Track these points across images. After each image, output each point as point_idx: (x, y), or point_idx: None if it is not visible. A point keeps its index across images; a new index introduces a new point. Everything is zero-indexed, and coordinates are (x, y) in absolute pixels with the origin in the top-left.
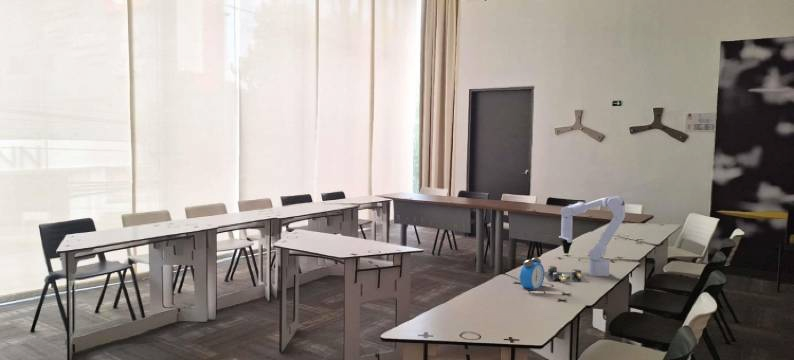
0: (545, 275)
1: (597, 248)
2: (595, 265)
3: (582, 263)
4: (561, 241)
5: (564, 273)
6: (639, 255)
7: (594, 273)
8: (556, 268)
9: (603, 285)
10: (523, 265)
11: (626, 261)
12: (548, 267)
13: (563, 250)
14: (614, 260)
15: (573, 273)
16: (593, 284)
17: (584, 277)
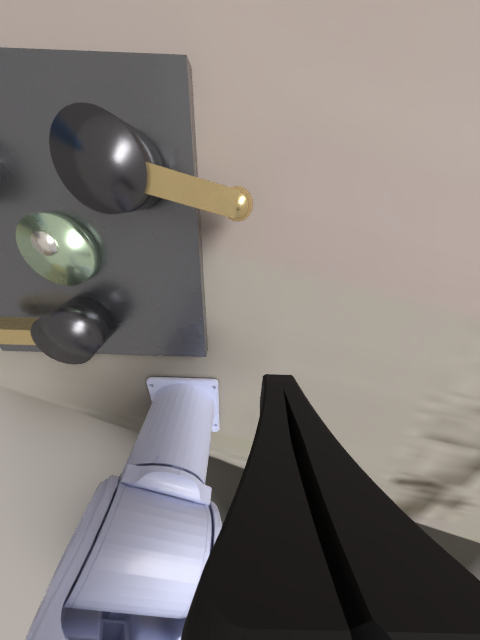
0: (38, 68)
1: (34, 619)
2: (133, 447)
3: (424, 409)
4: (363, 596)
5: (164, 272)
6: (448, 531)
7: (151, 405)
8: (87, 204)
9: (40, 386)
10: None
11: (395, 503)
12: (75, 104)
13: (298, 394)
14: (421, 488)
15: (51, 311)
16: (35, 358)
17: (101, 352)
